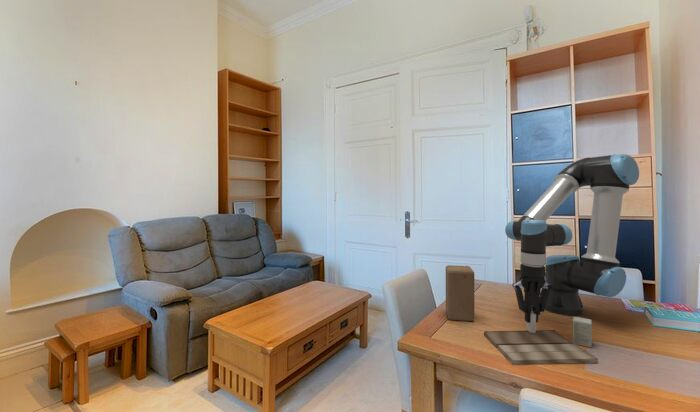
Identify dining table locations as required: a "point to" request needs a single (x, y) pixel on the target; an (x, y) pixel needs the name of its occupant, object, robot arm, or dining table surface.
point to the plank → (525, 337)
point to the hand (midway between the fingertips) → (531, 331)
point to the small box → (582, 331)
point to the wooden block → (460, 293)
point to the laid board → (546, 354)
